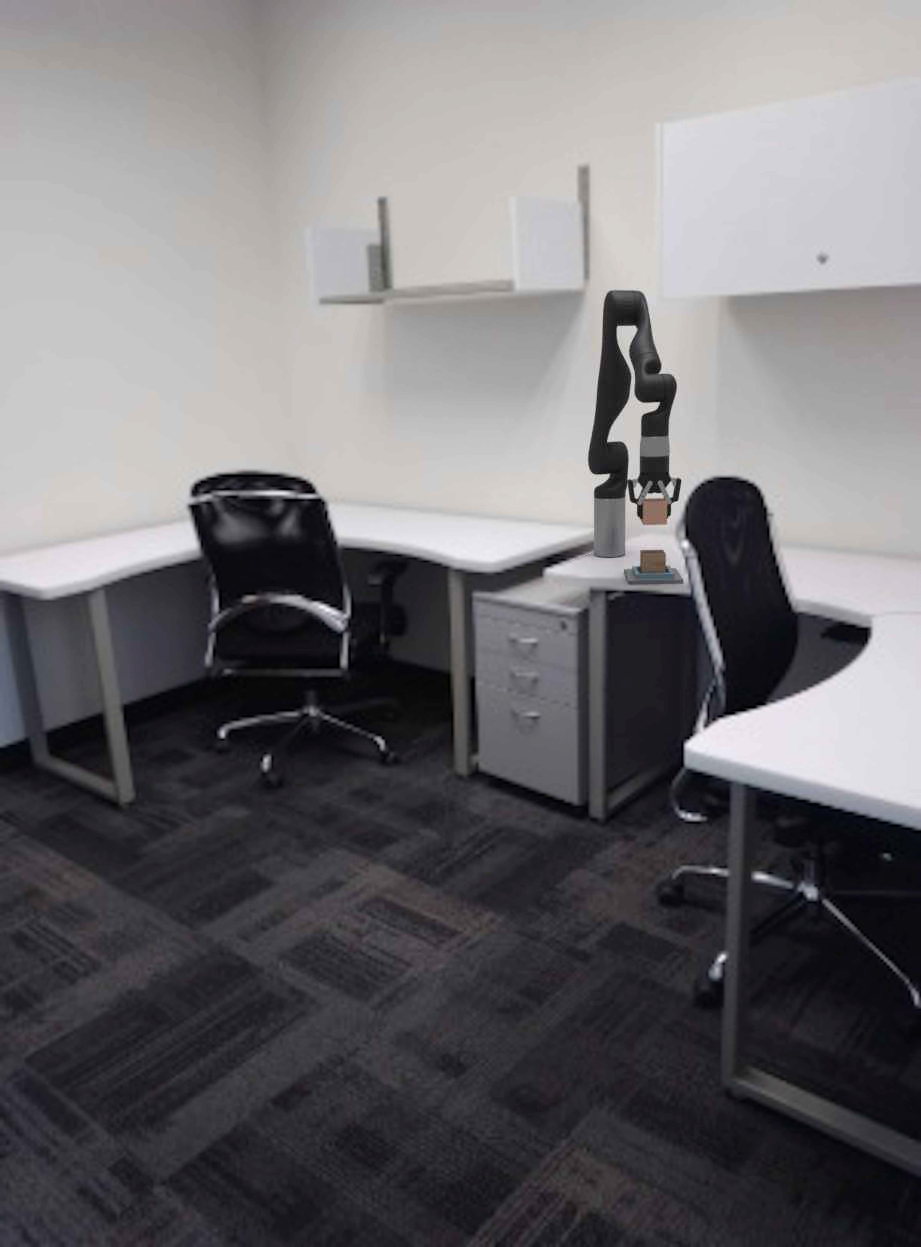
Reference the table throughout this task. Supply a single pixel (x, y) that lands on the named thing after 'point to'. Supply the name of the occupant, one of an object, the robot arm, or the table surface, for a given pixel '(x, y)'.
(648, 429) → the robot arm
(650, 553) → the walnut block
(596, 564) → the table surface
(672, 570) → the baseplate
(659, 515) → the terracotta block
